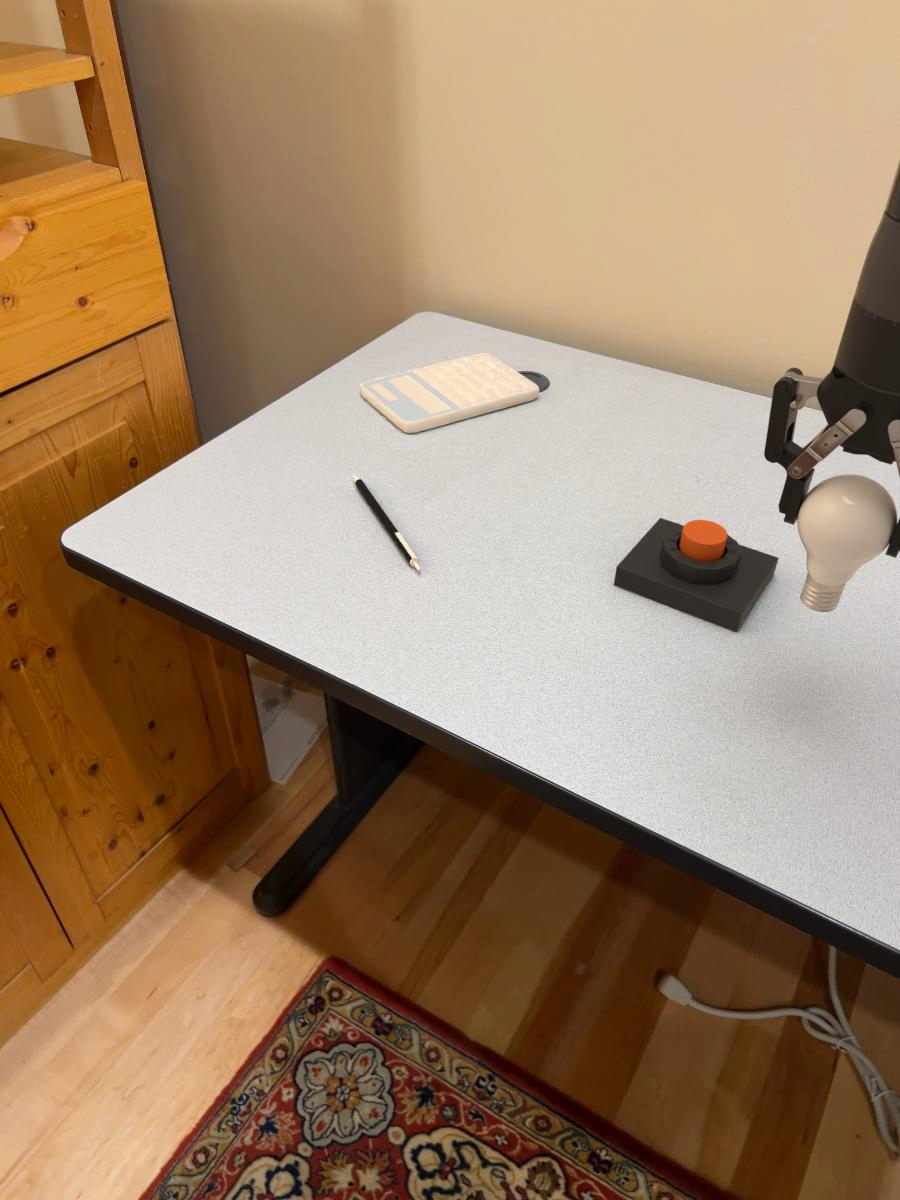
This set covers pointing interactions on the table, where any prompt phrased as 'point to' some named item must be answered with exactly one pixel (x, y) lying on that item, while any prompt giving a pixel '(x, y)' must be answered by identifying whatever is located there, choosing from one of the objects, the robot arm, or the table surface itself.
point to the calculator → (448, 392)
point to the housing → (696, 576)
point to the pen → (387, 524)
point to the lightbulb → (842, 534)
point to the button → (703, 540)
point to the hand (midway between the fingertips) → (842, 533)
